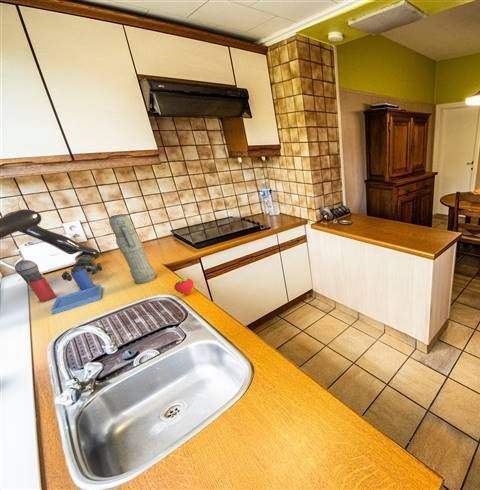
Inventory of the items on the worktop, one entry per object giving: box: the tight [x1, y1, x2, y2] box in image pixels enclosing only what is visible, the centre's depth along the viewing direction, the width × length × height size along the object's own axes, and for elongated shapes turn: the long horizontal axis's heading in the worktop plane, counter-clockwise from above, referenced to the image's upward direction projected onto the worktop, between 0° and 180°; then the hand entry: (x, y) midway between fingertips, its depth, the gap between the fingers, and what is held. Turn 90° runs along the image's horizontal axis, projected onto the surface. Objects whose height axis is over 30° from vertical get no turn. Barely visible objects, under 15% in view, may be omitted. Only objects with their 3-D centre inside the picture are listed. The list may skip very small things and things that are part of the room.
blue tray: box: [51, 285, 103, 315], centre depth 123 cm, size 15×13×2 cm
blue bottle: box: [69, 266, 96, 291], centre depth 131 cm, size 5×5×12 cm
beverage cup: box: [14, 251, 42, 287], centre depth 133 cm, size 7×7×20 cm
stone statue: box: [108, 213, 157, 285], centre depth 132 cm, size 9×12×35 cm
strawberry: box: [173, 276, 194, 296], centre depth 121 cm, size 6×8×10 cm
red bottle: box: [27, 274, 57, 303], centre depth 124 cm, size 5×5×12 cm
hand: (81, 276), depth 131 cm, fingers open, 8 cm apart
